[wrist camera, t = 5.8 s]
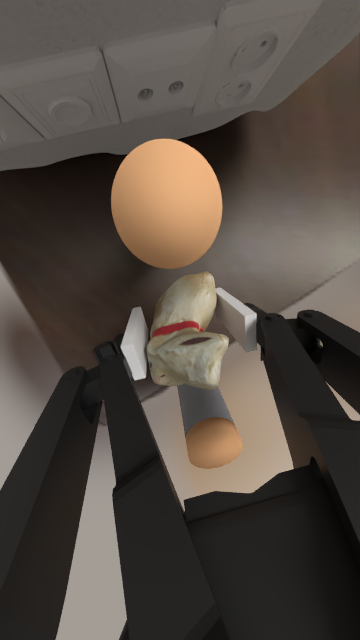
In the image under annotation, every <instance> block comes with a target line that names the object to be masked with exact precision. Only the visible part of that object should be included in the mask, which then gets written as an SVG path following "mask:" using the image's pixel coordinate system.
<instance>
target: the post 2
mask: <svg viewBox="0 0 360 640" xmlns="http://www.w3.org/2000/svg"><path fill="white" fill-rule="evenodd" d="M177 387H178V393H179V399H180V406H181V412H182V418H183V425H184V431H185V438H186V444H187V450H188V456H189V460H190V462H191V463H192V464H193V465H195V466H196V467H199V468H205V469H208V468H209V469H210V468H217V467H221V466H223V465H226V464H228V463H230V462H231V461H233V460H234V459H236V457H237V456H239V454H240V453H241V451H242V448H243V443H242V440H241V438H240V436H239V434H238V431H237V429H236V427H235V424H234V423H233V420H232V418H231V416H230V413H229V411H228V409H227V406H226V404H225V402H224V399H223V397H222V395H221V393H220V390H219V388H218V387H217V388H216V389H214V390H207V389H203V388H199V387H195V386H191V385H188V384H185V383H183V384H182V385H178V386H177Z"/></svg>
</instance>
